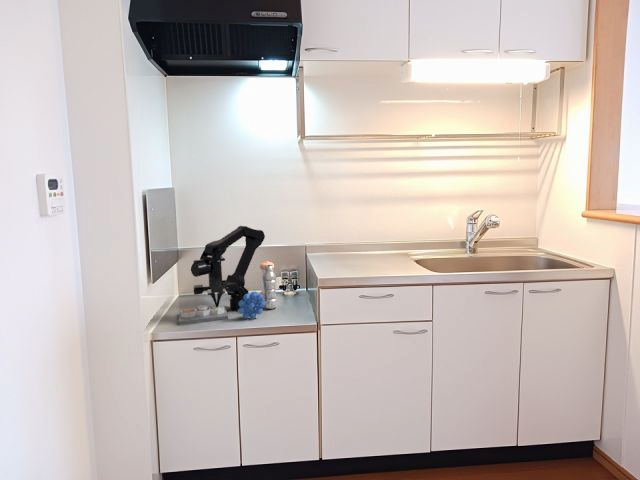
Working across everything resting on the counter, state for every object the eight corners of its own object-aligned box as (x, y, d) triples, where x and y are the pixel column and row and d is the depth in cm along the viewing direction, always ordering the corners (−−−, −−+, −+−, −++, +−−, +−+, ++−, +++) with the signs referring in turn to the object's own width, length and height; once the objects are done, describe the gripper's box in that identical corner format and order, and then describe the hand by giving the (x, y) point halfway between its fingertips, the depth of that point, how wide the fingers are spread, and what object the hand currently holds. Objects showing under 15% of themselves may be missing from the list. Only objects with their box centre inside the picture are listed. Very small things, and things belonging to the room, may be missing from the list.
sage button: (221, 310, 193) (221, 305, 192) (222, 312, 189) (221, 307, 189) (212, 311, 192) (212, 306, 191) (212, 313, 188) (212, 308, 187)
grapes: (265, 314, 190) (264, 288, 188) (266, 319, 184) (265, 292, 182) (238, 316, 188) (237, 289, 187) (238, 321, 182) (236, 294, 180)
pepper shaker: (261, 296, 218) (259, 259, 215) (275, 296, 219) (274, 259, 216) (260, 301, 211) (259, 262, 208) (275, 300, 212) (274, 261, 209)
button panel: (225, 309, 198) (224, 302, 198) (228, 319, 185) (227, 311, 185) (179, 314, 192) (178, 307, 192) (179, 324, 179) (178, 316, 179)
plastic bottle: (265, 311, 195) (264, 267, 192) (261, 307, 201) (259, 265, 198) (279, 309, 198) (277, 266, 195) (274, 305, 204) (273, 263, 201)
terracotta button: (193, 313, 189) (193, 307, 189) (193, 316, 185) (193, 310, 185) (183, 314, 188) (183, 308, 188) (183, 317, 184) (183, 311, 184)
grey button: (207, 309, 191) (207, 304, 190) (207, 312, 187) (207, 306, 187) (198, 310, 190) (197, 305, 189) (198, 313, 186) (198, 307, 186)
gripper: (193, 278, 177) (195, 314, 180) (238, 274, 183) (240, 309, 185) (192, 272, 188) (194, 307, 190) (235, 268, 193) (237, 302, 196)
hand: (217, 306), depth 190 cm, fingers closed, pressing on sage button
